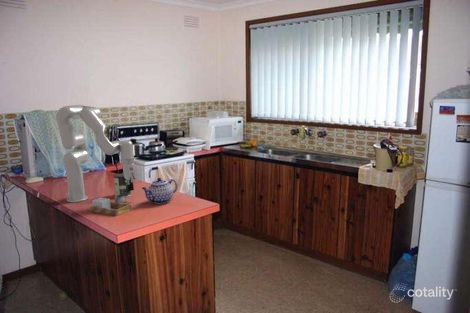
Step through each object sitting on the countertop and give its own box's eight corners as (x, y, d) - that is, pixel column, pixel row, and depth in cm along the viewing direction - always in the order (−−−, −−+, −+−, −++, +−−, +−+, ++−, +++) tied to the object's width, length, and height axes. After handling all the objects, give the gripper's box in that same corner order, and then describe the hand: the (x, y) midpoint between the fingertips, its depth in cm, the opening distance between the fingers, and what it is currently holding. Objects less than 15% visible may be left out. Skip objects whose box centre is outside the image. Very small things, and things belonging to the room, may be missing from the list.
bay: (90, 211, 216) (90, 206, 216) (105, 205, 226) (104, 200, 226) (117, 215, 208) (116, 210, 207) (131, 209, 218) (130, 204, 217)
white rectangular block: (93, 210, 219) (92, 200, 218) (101, 207, 224) (100, 197, 223) (102, 211, 215) (101, 201, 214) (110, 208, 221) (109, 199, 219)
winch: (109, 204, 228) (108, 197, 227) (118, 201, 235) (118, 194, 234) (122, 206, 224) (121, 199, 223) (131, 202, 231) (130, 195, 230)
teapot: (171, 194, 246) (170, 172, 243) (185, 199, 234) (183, 176, 232) (136, 203, 229) (134, 179, 226) (149, 208, 218) (147, 183, 215)
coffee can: (134, 193, 251) (132, 173, 249) (126, 198, 241) (125, 176, 239) (120, 193, 253) (118, 172, 251) (112, 197, 243) (110, 176, 241)
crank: (119, 197, 226) (118, 188, 225) (116, 196, 228) (115, 188, 227) (131, 193, 234) (130, 185, 233) (128, 192, 236) (127, 184, 235)
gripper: (138, 161, 224) (141, 191, 227) (129, 158, 236) (132, 187, 239) (125, 163, 220) (128, 194, 223) (117, 160, 232) (121, 189, 235)
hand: (130, 190), depth 231 cm, fingers closed
